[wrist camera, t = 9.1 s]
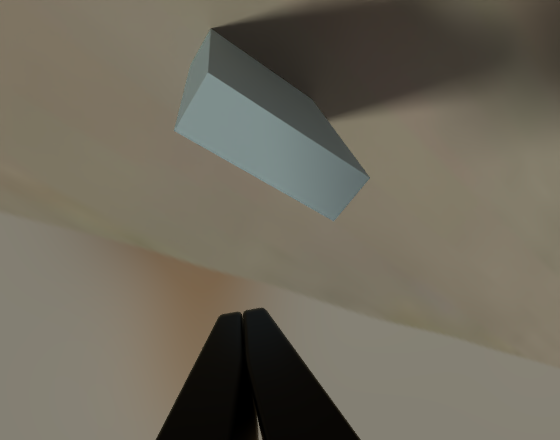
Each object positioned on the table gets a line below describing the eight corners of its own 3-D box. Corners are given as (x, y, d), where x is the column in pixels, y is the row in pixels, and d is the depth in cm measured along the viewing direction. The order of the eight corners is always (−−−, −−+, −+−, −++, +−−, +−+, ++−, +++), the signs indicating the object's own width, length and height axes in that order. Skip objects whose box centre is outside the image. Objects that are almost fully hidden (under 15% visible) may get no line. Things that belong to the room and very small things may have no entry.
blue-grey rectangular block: (190, 64, 17) (173, 130, 10) (210, 28, 16) (207, 72, 9) (290, 129, 19) (333, 221, 12) (311, 99, 18) (369, 177, 11)
